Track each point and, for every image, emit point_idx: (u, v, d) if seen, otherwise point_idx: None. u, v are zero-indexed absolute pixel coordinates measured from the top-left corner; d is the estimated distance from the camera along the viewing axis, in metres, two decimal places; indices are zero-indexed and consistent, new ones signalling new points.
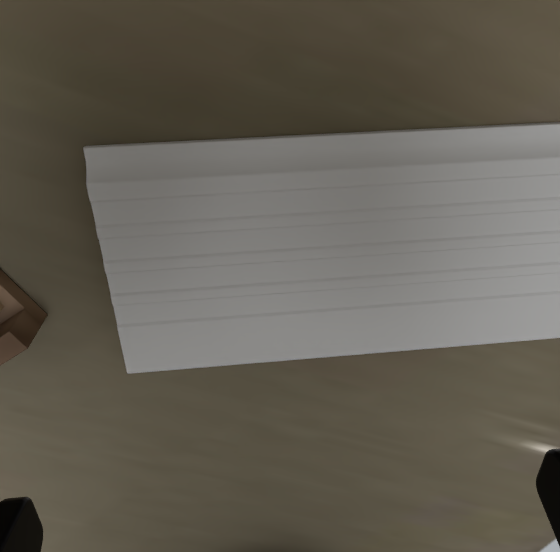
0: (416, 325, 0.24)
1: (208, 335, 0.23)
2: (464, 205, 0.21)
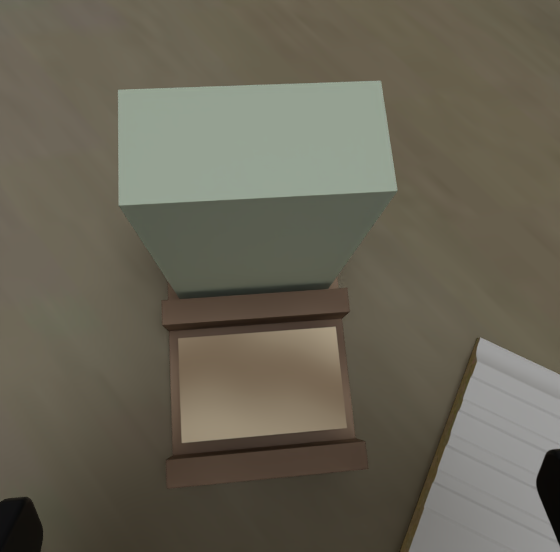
0: None
1: None
2: None
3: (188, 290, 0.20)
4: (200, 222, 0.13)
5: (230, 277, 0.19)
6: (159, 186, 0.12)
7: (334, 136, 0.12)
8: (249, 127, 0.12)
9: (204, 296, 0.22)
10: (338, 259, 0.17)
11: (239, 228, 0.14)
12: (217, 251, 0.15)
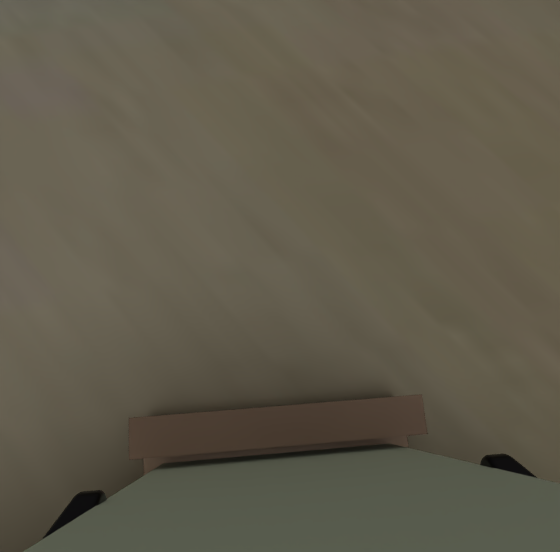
0: None
1: None
2: None
3: None
4: None
5: None
6: None
7: None
8: None
9: None
10: None
11: None
12: None
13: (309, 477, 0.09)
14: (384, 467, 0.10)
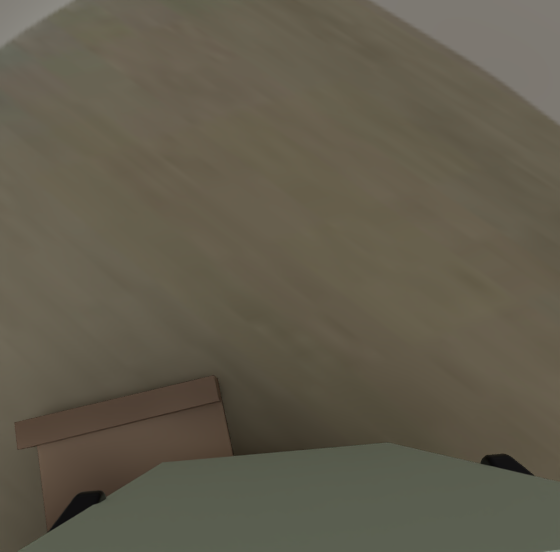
0: None
1: None
2: None
3: None
4: None
5: None
6: None
7: None
8: None
9: None
10: None
11: None
12: None
13: (307, 476, 0.09)
14: (382, 466, 0.10)
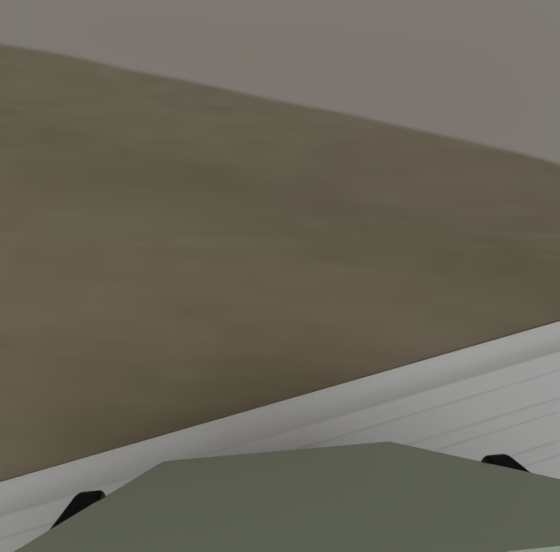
0: None
1: None
2: None
3: None
4: None
5: None
6: None
7: None
8: None
9: None
10: None
11: None
12: None
13: (309, 474, 0.09)
14: (384, 464, 0.10)
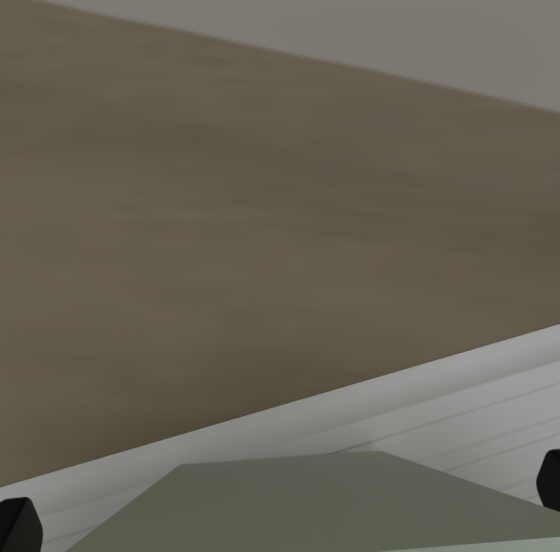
0: None
1: None
2: None
3: None
4: None
5: None
6: None
7: None
8: None
9: None
10: None
11: None
12: None
13: (305, 481, 0.11)
14: (369, 474, 0.11)
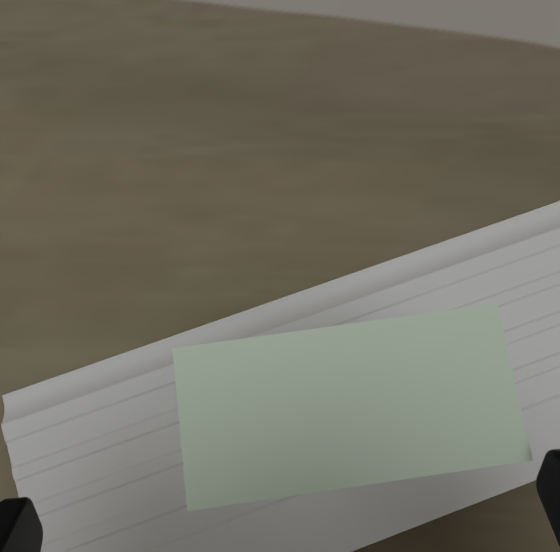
0: (385, 497, 0.20)
1: None
2: None
3: None
4: None
5: None
6: (233, 479, 0.09)
7: (445, 388, 0.10)
8: (338, 385, 0.10)
9: None
10: None
11: None
12: None
13: None
14: None
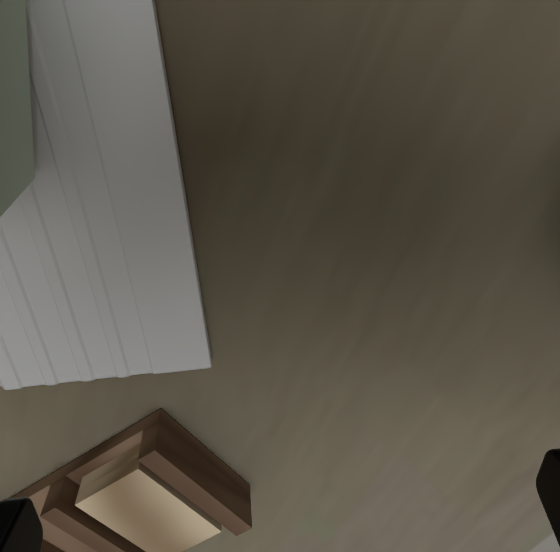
0: (112, 38, 0.16)
1: (156, 299, 0.21)
2: None
3: (15, 182, 0.15)
4: None
5: None
6: None
7: None
8: None
9: (27, 152, 0.16)
10: None
11: None
12: None
13: None
14: None
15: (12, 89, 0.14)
